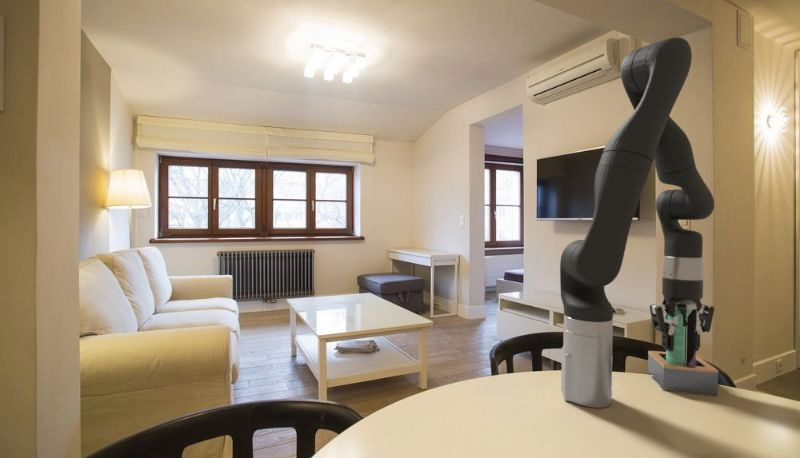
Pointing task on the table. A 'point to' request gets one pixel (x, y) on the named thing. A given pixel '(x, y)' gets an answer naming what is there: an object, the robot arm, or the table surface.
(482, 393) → the table surface
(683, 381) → the grey open box
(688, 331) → the spray can
